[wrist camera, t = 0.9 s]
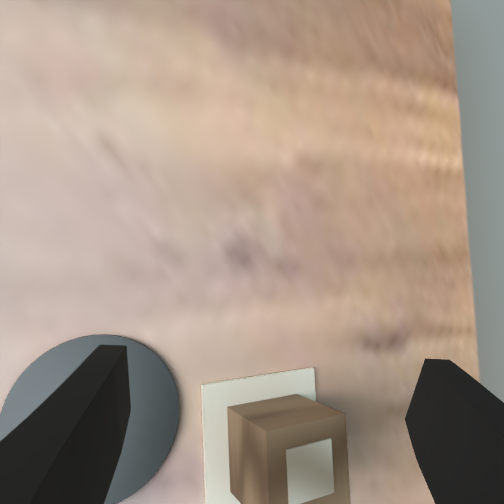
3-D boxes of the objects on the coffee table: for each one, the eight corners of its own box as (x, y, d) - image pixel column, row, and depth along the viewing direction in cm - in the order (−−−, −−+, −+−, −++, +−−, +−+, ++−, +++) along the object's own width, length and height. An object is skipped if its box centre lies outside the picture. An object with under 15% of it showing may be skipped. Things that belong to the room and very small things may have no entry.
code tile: (317, 487, 28) (320, 489, 28) (205, 522, 24) (207, 525, 24) (311, 367, 29) (314, 367, 28) (201, 384, 25) (202, 385, 25)
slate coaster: (179, 485, 24) (181, 488, 24) (-3, 533, 20) (-4, 537, 20) (175, 327, 25) (177, 328, 24) (-3, 343, 21) (-4, 344, 20)
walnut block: (300, 471, 27) (352, 508, 23) (230, 492, 25) (271, 536, 20) (296, 393, 28) (346, 414, 23) (227, 406, 25) (266, 432, 21)
